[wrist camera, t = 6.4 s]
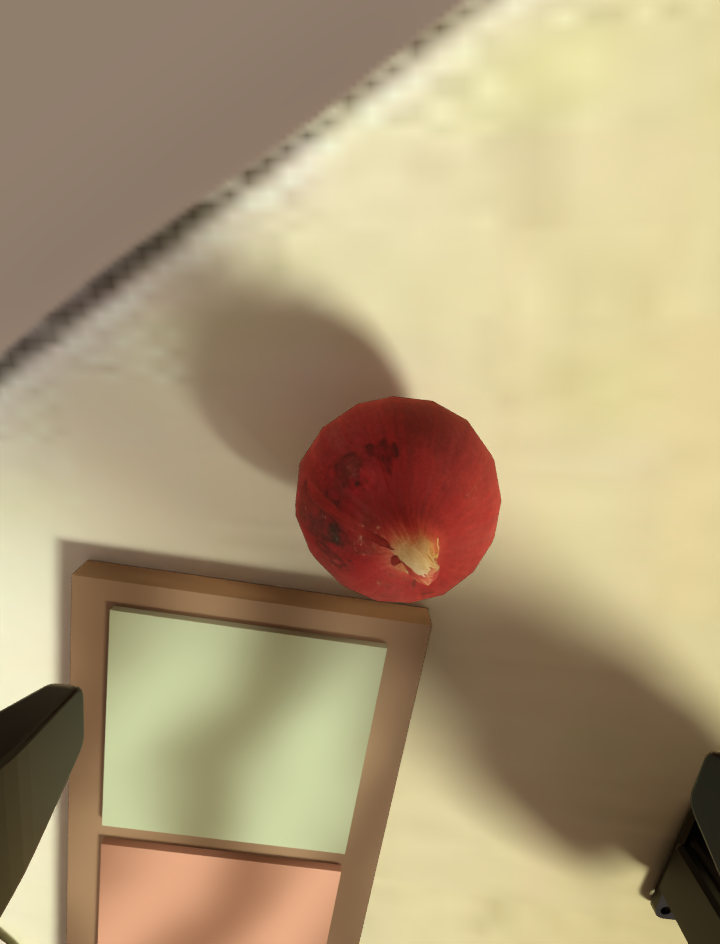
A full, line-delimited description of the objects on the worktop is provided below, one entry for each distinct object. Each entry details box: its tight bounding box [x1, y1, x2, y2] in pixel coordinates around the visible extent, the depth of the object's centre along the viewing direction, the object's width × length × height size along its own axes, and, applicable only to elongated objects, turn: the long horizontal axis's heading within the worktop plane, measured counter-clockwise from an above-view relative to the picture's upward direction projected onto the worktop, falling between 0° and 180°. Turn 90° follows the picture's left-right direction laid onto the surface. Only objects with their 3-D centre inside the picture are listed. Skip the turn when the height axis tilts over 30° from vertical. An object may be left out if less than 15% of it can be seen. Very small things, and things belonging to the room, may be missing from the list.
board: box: [67, 560, 432, 944], centre depth 23 cm, size 13×23×2 cm, turn 171°
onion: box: [295, 396, 501, 603], centre depth 15 cm, size 6×6×8 cm
